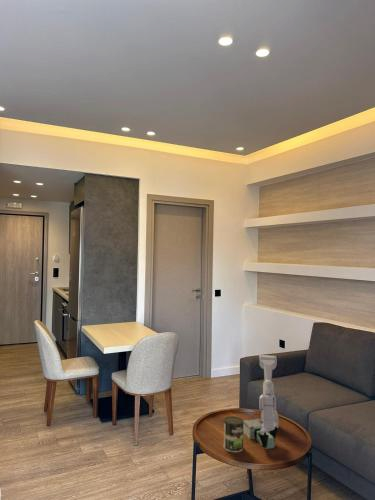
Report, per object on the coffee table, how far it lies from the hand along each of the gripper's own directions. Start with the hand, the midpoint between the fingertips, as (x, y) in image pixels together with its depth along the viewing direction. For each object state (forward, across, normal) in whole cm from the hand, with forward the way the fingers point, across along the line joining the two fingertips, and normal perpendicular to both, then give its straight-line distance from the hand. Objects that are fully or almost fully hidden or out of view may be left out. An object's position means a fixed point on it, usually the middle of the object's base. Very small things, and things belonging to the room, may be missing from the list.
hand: (268, 444), depth 192 cm
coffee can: (+2, +13, -13) cm, 19 cm away
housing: (+1, -8, -13) cm, 16 cm away
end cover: (+1, -2, -3) cm, 4 cm away
